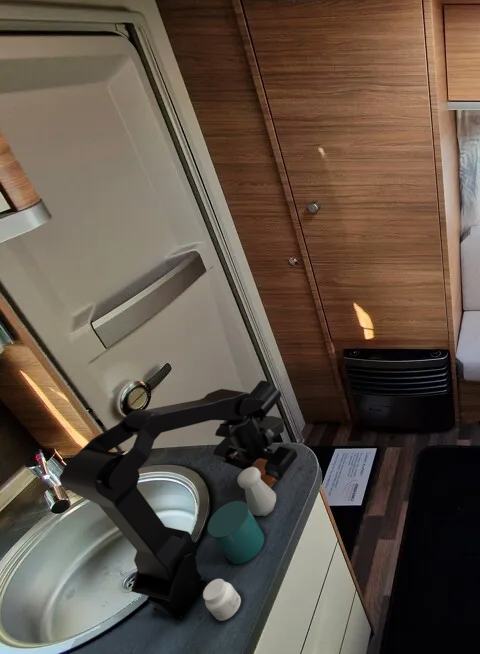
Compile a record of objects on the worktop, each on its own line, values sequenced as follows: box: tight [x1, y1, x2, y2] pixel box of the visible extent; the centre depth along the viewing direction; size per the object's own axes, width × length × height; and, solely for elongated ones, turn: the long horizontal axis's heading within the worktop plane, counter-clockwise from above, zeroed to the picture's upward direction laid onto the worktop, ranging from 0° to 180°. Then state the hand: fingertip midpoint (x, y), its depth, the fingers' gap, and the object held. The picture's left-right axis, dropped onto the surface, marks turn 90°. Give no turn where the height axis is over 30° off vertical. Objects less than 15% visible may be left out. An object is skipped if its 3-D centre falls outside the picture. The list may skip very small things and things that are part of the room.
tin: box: [207, 500, 265, 565], centre depth 86 cm, size 7×7×11 cm
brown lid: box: [251, 458, 274, 485], centre depth 101 cm, size 5×5×4 cm
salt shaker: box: [236, 467, 277, 517], centre depth 93 cm, size 6×6×13 cm
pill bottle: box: [202, 578, 242, 622], centre depth 78 cm, size 4×4×8 cm
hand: (266, 474), depth 102 cm, fingers open, 8 cm apart
